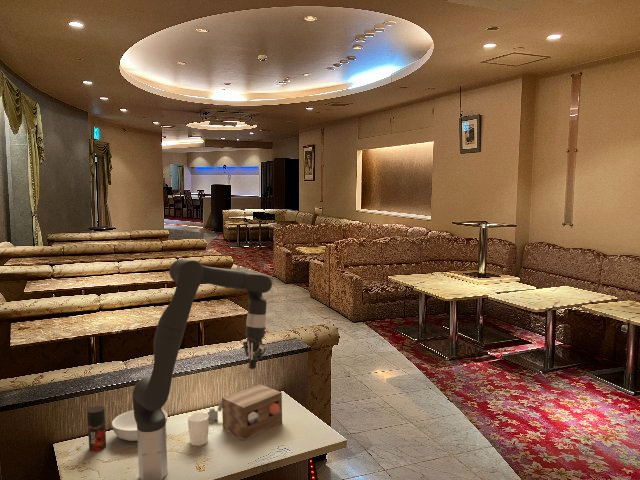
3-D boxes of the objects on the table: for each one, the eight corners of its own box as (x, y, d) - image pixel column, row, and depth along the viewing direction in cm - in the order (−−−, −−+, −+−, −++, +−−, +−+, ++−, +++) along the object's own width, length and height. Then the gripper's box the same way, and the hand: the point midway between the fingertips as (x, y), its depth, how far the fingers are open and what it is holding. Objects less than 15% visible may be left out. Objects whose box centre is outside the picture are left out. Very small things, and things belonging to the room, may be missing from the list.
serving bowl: (174, 422, 206) (174, 407, 205) (157, 448, 185) (156, 430, 184) (125, 422, 206) (125, 407, 206) (102, 447, 185) (102, 430, 185)
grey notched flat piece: (207, 421, 206) (207, 403, 205) (207, 420, 208) (207, 401, 207) (225, 419, 208) (224, 401, 207) (224, 417, 210) (224, 399, 209)
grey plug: (258, 421, 194) (258, 411, 194) (250, 425, 191) (249, 414, 190) (243, 414, 201) (242, 404, 200) (234, 417, 198) (234, 407, 197)
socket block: (282, 422, 205) (281, 392, 204) (244, 439, 190) (243, 407, 189) (260, 412, 214) (260, 384, 213) (222, 428, 200) (221, 397, 199)
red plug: (279, 412, 202) (279, 402, 201) (271, 416, 199) (271, 405, 198) (264, 406, 209) (263, 396, 208) (255, 409, 206) (255, 399, 205)
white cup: (204, 447, 185) (203, 422, 184) (184, 445, 186) (183, 420, 185) (212, 437, 192) (212, 413, 192) (194, 435, 194) (193, 411, 193)
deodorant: (87, 452, 182) (85, 413, 181) (90, 444, 188) (88, 407, 186) (105, 450, 183) (103, 411, 182) (107, 442, 189) (105, 405, 188)
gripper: (238, 322, 194) (235, 365, 195) (257, 328, 185) (253, 374, 185) (254, 321, 199) (250, 363, 200) (273, 327, 189) (269, 372, 190)
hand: (252, 368), depth 192 cm, fingers closed
